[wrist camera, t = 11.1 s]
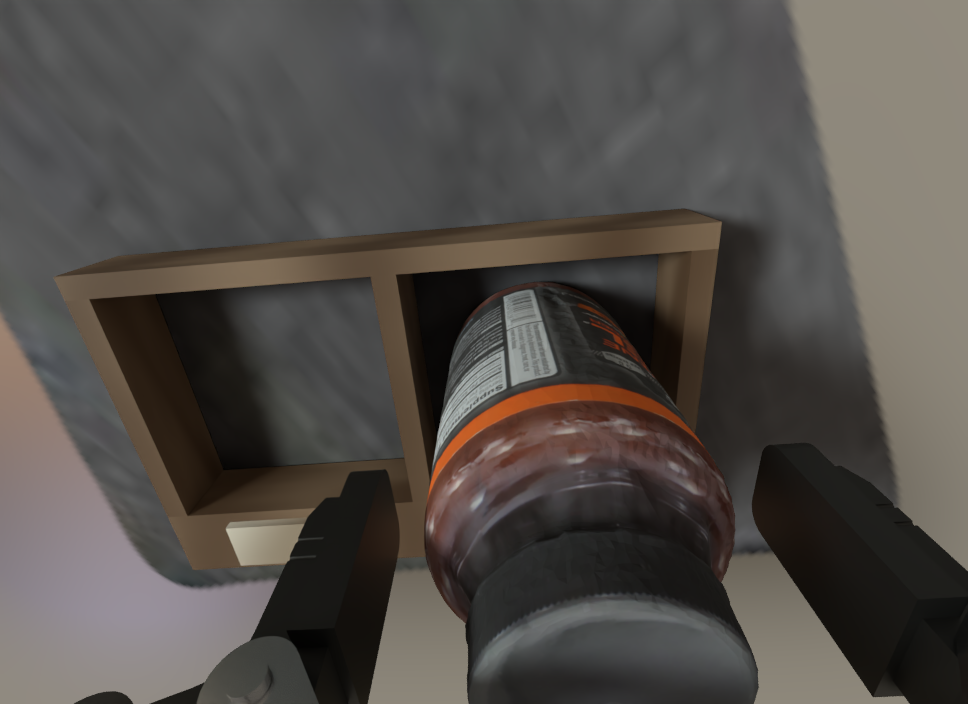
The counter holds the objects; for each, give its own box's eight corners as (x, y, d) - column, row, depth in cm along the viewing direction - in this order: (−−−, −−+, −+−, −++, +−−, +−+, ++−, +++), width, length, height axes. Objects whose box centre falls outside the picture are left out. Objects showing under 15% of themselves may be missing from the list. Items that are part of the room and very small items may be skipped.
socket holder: (684, 208, 14) (727, 223, 12) (658, 493, 19) (684, 548, 17) (118, 255, 15) (44, 279, 13) (226, 520, 20) (188, 577, 17)
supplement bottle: (653, 362, 17) (922, 723, 6) (525, 454, 18) (577, 857, 8) (547, 237, 15) (686, 461, 5) (416, 351, 17) (302, 704, 6)
